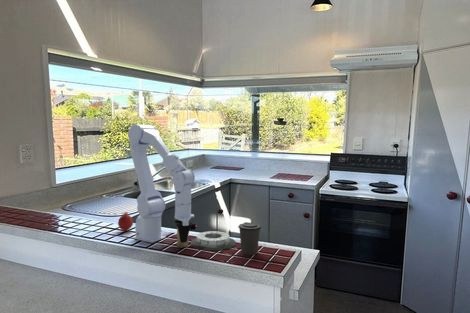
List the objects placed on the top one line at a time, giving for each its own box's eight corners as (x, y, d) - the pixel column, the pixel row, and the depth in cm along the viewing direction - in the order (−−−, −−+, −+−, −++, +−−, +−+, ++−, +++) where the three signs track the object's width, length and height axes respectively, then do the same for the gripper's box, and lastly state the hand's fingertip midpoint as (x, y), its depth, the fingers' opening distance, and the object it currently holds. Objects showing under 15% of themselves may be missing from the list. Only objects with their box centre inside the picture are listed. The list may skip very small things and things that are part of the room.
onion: (128, 233, 134) (128, 214, 134) (115, 232, 135) (115, 213, 135) (135, 230, 140) (135, 211, 140) (122, 229, 141) (122, 210, 141)
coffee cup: (242, 247, 120) (242, 219, 120) (264, 250, 117) (264, 222, 117) (234, 254, 113) (234, 225, 112) (257, 257, 110) (257, 227, 109)
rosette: (180, 245, 121) (180, 237, 121) (206, 234, 136) (206, 227, 136) (220, 253, 113) (221, 245, 113) (243, 240, 128) (244, 233, 128)
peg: (174, 246, 120) (174, 226, 120) (181, 242, 124) (181, 224, 123) (183, 247, 118) (183, 228, 118) (190, 244, 122) (190, 225, 122)
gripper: (197, 206, 115) (197, 245, 115) (191, 199, 128) (190, 234, 129) (176, 207, 113) (176, 247, 113) (172, 199, 126) (172, 235, 127)
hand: (182, 240), depth 121 cm, fingers closed on peg, 4 cm apart
